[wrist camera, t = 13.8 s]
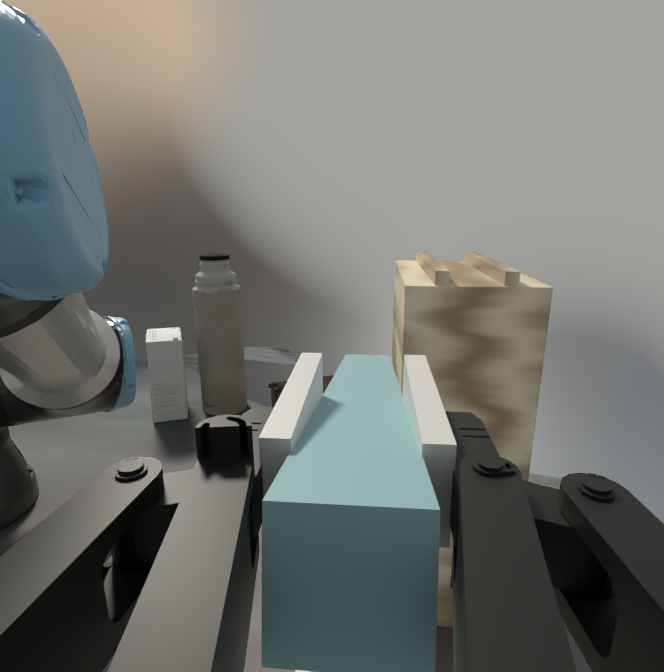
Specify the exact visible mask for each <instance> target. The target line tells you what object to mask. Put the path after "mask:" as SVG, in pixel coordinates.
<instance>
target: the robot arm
mask: <svg viewBox="0 0 664 672" xmlns="http://www.w3.org/2000/svg"><path fill="white" fill-rule="evenodd" d="M107 263H108V227H107V218H106V210H105V205H104V198H103V191H102V186H101V181H100V176H99V171H98V167H97V163H96V160H95V156H94V153H93V151H92V148H91V146H90V143H89V135H88V128H87V124H86V121H85V117H84V114H83V111H82V108H81V105H80V103H79V100H78V97H77V94H76V91H75V89H74V86H73V84H72V81H71V79H70V76H69V74H68V72H67V69H66V67H65V65H64V63H63V61H62V59H61V58H60V56H59V54H58V52H57V51H56V48H55V47H54V45H53V44H52V42H51V41H50V39H49V38H48V37H47V35H46V34H45V33H44V32H43V31H42V30H41V29H40V27H39V26H38V25H37V24H36V23H35V22H34V21H33V20H32V19H31V18H30V17H28V16H27V15H26V14H25V13H23V12H22V11H20V10H19V9H17V8H15V7H14V6H12V5H11V4H8V3H6V2H4V1H1V0H0V529H2V528H4V527H6V526H7V525H9V524H10V523H12V522H13V521H15V520H16V519H17V518H19V517H20V516H21V515H23V514H24V513H25V512H26V511H27V510H28V509H29V508H30V507H31V506H32V504H33V503H34V502H35V500H36V498H37V496H38V492H39V488H38V483H37V479H36V475H35V472H34V470H33V469H32V467H31V466H30V465H28V464H27V463H26V461H25V459H24V457H23V455H22V454H21V452H20V451H19V450H18V448H17V447H16V445H15V444H14V443H13V441H12V440H11V438H10V434H9V430H8V426H14V425H19V424H25V423H31V422H38V421H44V420H51V419H57V418H64V417H70V416H77V415H83V414H90V413H96V412H102V411H104V412H110V411H113V410H114V409H118V408H122V407H126V406H128V405H130V404H131V403H132V402H133V400H134V398H135V394H136V382H135V381H136V365H135V354H134V346H133V339H132V334H131V330H130V328H129V324H128V322H127V321H126V320H125V319H123V318H120V317H109V316H106V317H101V316H99V315H98V314H96V313H95V312H93V311H91V310H89V309H88V307H87V305H86V303H85V301H84V298H83V296H82V294H81V292H84V291H87V290H90V289H92V288H93V287H95V286H96V285H97V284H98V283H99V282H100V281H101V279H102V278H103V273H104V272H105V270H106V265H107ZM322 370H323V369H322V353H302V354H301V356H300V358H299V360H298V361H297V363H296V365H295V367H294V369H293V371H292V373H291V375H290V377H289V379H288V381H287V383H286V385H285V387H284V389H283V391H282V393H281V395H280V397H279V399H278V400H277V402H276V404H275V406H274V408H273V407H253V408H251V409H250V410H248V411H247V412H245V413H243V414H242V416H240V415H229V414H228V415H219V416H214V417H211V418H207V419H205V420H204V421H202V422H200V423H199V424H198V425H197V426H196V427H195V435H196V445H197V456H198V460H197V462H196V465H195V467H194V469H190V470H186V471H180V472H173V473H166V474H163V471H162V463H161V462H160V461H158V460H157V459H155V458H151V457H133V458H127V459H124V460H123V461H120V462H117V463H115V464H113V465H111V466H110V467H108V468H107V469H105V470H104V471H103V472H102V473H100V474H99V475H98V476H97V477H96V478H94V479H93V480H92V481H91V482H89V483H88V484H87V485H86V486H85V487H83V488H82V489H81V490H80V491H79V492H77V493H76V494H75V495H74V496H73V497H71V498H70V499H69V500H68V501H67V502H65V503H64V504H63V505H62V506H61V507H59V508H58V509H57V510H56V511H54V512H53V513H52V514H51V515H50V516H48V517H47V518H46V519H45V520H44V521H42V522H41V523H40V524H39V525H38V526H36V527H35V528H34V529H33V530H32V531H30V532H29V533H28V534H27V535H26V536H24V537H23V538H22V539H21V540H20V541H18V542H17V543H16V544H15V545H13V546H12V547H11V548H10V549H9V550H7V551H6V552H5V553H4V554H3V555H1V556H0V672H102V671H103V669H104V668H105V666H106V665H107V663H108V662H109V661H110V659H111V658H112V656H113V655H114V653H115V655H114V657H113V660H112V662H111V664H110V667H109V669H108V671H107V672H244V665H245V657H246V650H247V642H248V634H249V626H250V619H251V611H252V603H253V595H254V588H255V580H256V572H257V564H258V557H259V535H258V532H259V529H260V527H261V524H262V500H263V498H264V497H265V495H266V493H267V491H268V490H269V488H270V486H271V484H272V483H273V481H274V479H275V477H276V476H277V474H278V472H279V470H280V469H281V467H282V465H283V463H284V462H285V460H286V458H287V456H288V455H289V453H290V451H292V449H293V447H294V446H295V444H296V442H297V440H298V439H299V437H300V435H301V433H302V431H303V430H304V428H305V426H306V424H307V423H308V421H309V419H310V417H311V416H312V414H313V412H314V410H315V408H316V407H317V405H318V403H319V401H320V400H321V398H322V396H323V373H322V372H323V371H322ZM403 401H404V404H405V407H406V410H407V413H408V416H409V419H410V422H411V425H412V428H413V432H414V435H415V438H416V441H417V444H418V447H419V450H420V453H421V456H422V457H423V459H424V462H425V465H426V468H427V471H428V474H429V477H430V480H431V483H432V486H433V489H434V492H435V495H436V498H437V501H438V504H439V507H440V538H439V547H443V548H450V534H451V532H452V537H453V541H454V543H453V556H452V570H451V583H450V588H452V589H453V666H454V672H576V669H575V665H574V662H573V658H572V654H571V651H570V647H569V644H568V640H567V637H566V633H565V629H564V626H563V622H562V619H563V620H564V622H565V624H566V626H567V627H568V629H569V631H570V633H571V634H572V636H573V638H574V640H575V642H576V643H577V645H578V647H579V649H580V650H581V652H582V654H583V656H584V657H585V659H586V661H587V663H588V665H589V666H590V668H591V670H592V672H664V524H663V523H662V522H661V521H660V520H659V519H658V518H657V517H655V516H654V515H653V514H652V513H651V512H650V511H649V510H648V509H647V508H646V507H645V506H644V505H643V504H642V503H641V502H640V501H639V500H637V499H636V498H635V497H634V496H633V495H632V494H631V493H630V492H629V491H628V490H627V489H625V488H624V487H622V486H621V485H620V484H618V483H616V482H614V481H612V480H609V479H607V478H606V477H603V476H600V475H599V476H597V475H596V474H591V473H589V474H585V473H574V474H568V475H567V476H565V477H563V478H562V480H561V484H560V489H555V488H551V487H546V486H542V485H538V484H534V483H531V482H528V481H526V480H523V479H522V475H521V472H520V470H519V469H518V467H517V466H516V465H515V464H513V463H512V462H510V461H509V460H507V459H504V458H502V457H500V455H499V453H498V451H497V449H496V447H495V446H494V444H493V442H492V440H491V438H490V436H489V434H488V432H487V431H486V428H485V426H484V424H483V422H482V420H481V419H479V418H478V417H476V416H475V415H474V414H472V413H471V412H448V411H445V410H444V407H443V404H442V401H441V398H440V396H439V393H438V390H437V387H436V384H435V381H434V379H433V376H432V373H431V370H430V367H429V364H428V362H427V359H426V356H425V355H404V372H403ZM110 550H111V553H112V555H111V556H110V557H109V558H108V559H107V561H106V562H105V563H104V561H105V558H106V556H107V554H108V553H109V551H110ZM561 617H562V619H561Z"/></svg>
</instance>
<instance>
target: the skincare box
mask: <svg viewBox="0 0 664 672" xmlns="http://www.w3.org/2000/svg"><path fill="white" fill-rule="evenodd" d="M146 348H147V357H148V370H149V381H150V392H151V403H152V414H153V422H154V423H157V422H165V421H172V420H180V419H187V418H188V401H187V387H186V375H185V363H184V354H183V347H182V339H181V330H180V328H161V329H147V333H146Z"/></svg>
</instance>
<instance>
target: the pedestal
mask: <svg viewBox="0 0 664 672" xmlns="http://www.w3.org/2000/svg"><path fill="white" fill-rule="evenodd" d="M552 291H553V288H552V287H550V286H548V285H546V284H544V283H541V282H539V281H537V280H535V279H533V278H530V277H528V276H526V275H524V274H521V273H520V271H518V270H515V269H513V268H511V267H509V266H506V265H504V264H502V263H499V262H497V261H495V260H493V259H490V258H488V257H486V256H484V255H481V254H479V253H477V252H464V261H437V260H436V259H435V258H434V257H432V256H431V255H430V254H429V253H428V252H426V251H417V252H416V261H395V282H394V312H393V343H392V344H393V345H392V365H393V368H394V371H395V374H396V377H397V380H398V383H399V386H400V389H401V392H402V396H403V372H404V355H425V356H426V359H427V362H428V364H429V367H430V370H431V373H432V376H433V379H434V381H435V384H436V387H437V390H438V393H439V396H440V398H441V401H442V404H443V407H444V410H445V411H448V412H471V413H472V414H474V415H475V416H476V417H478V418H479V419H481V420H482V422H483V424H484V426H485V428H486V431H487V432H488V434H489V436H490V438H491V440H492V442H493V444H494V446H495V447H496V449H497V451H498V453H499V455H500V457H502V458H504V459H507V460H509V461H510V462H512V463H513V464H515V465H516V466H517V467H518V469H519V470H520V472H521V475H522V479H523V480H526V481H528V476H529V468H530V461H531V453H532V445H533V437H534V430H535V422H536V415H537V407H538V399H539V391H540V384H541V376H542V368H543V360H544V353H545V345H546V337H547V330H548V322H549V314H550V306H551V298H552ZM453 543H454V541H453V537H452V532H451V534H450V548H443V547H439V572H438V606H437V626H440V627H453V589H452V588H450V583H451V570H452V556H453Z"/></svg>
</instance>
